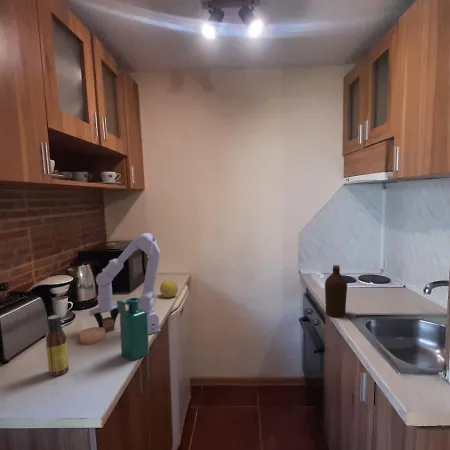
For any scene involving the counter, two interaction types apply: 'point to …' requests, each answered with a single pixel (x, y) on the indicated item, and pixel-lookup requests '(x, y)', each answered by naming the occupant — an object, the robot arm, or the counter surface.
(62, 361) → the sauce bottle
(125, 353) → the green plastic tall container
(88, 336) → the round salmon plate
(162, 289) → the fruit
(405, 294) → the counter surface
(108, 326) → the walnut cube
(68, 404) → the counter surface
